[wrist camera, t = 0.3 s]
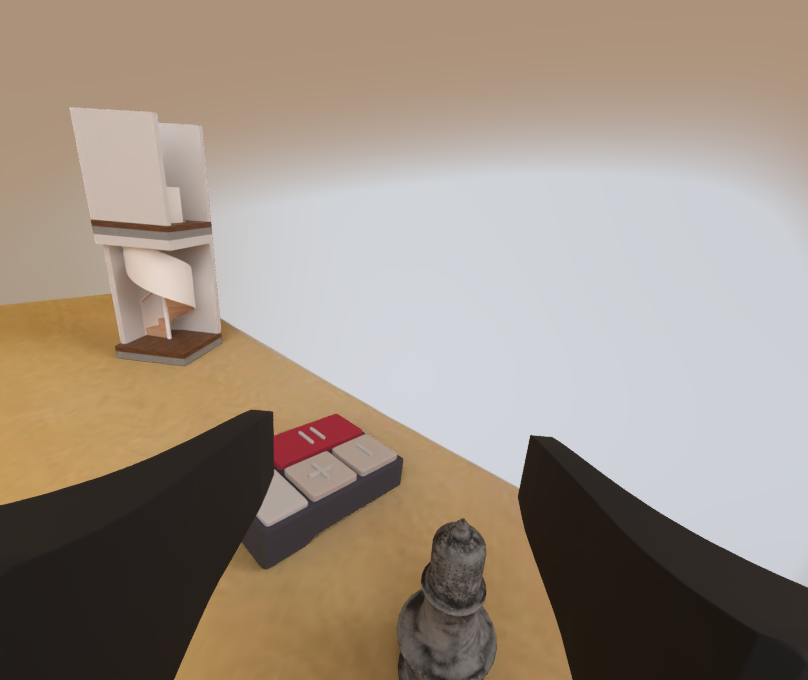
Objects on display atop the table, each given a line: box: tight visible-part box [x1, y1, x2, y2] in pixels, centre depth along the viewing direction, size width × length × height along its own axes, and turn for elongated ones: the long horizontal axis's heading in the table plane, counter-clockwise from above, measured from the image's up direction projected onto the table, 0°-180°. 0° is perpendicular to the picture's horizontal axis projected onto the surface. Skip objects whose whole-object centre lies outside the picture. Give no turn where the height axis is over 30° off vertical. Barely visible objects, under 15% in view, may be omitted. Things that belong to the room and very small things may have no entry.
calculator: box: [242, 414, 403, 569], centre depth 38 cm, size 11×4×15 cm
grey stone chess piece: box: [397, 518, 497, 680], centre depth 23 cm, size 6×6×12 cm
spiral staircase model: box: [70, 107, 222, 366], centre depth 62 cm, size 11×11×35 cm
